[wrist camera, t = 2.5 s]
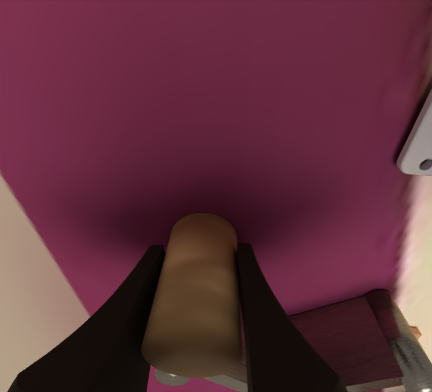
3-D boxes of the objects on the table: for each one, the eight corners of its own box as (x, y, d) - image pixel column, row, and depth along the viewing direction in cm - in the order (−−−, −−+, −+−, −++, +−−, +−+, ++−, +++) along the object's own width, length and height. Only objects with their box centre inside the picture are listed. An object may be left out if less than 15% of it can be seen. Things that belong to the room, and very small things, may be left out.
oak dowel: (240, 215, 13) (248, 331, 9) (233, 263, 16) (236, 380, 11) (169, 210, 13) (135, 324, 8) (172, 259, 15) (146, 374, 11)
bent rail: (394, 290, 16) (455, 388, 12) (361, 338, 19) (399, 430, 15) (173, 275, 16) (153, 369, 12) (175, 326, 19) (160, 414, 15)
